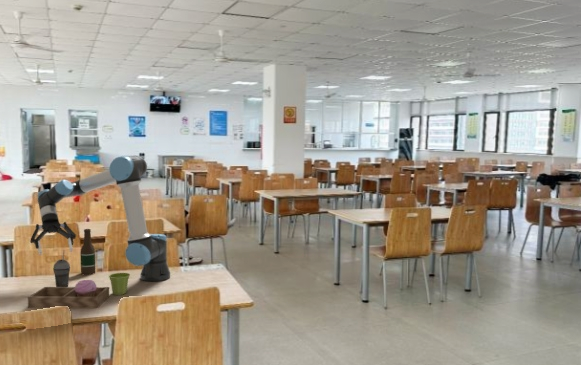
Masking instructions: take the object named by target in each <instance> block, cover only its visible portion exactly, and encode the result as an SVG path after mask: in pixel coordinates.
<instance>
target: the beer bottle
mask: <svg viewBox="0 0 581 365" xmlns="http://www.w3.org/2000/svg"><path fill="white" fill-rule="evenodd" d="M91 230H92V229H90V228H86V229H85V228H84V229H83V233H84V235H83V244H82V246H81V247H80V252H79V253H80V273H81V274H80V275H82V274H84V275H83V276H89V274H91V275H93V273H94V274H96V248H95V247H94V245H93V244H92V236H91V233H92V231H91Z"/></svg>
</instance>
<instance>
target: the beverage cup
mask: <svg viewBox="0 0 581 365" xmlns="http://www.w3.org/2000/svg"><path fill="white" fill-rule="evenodd" d="M65 251H66V250H63V253H62V258H61V259H59V260H56V262H55V263H54V264H53V274H54V280H55V287H69V282H70V281H69V280H70V270H71V265H70V263H69V261H68V260H66V259H65Z"/></svg>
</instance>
